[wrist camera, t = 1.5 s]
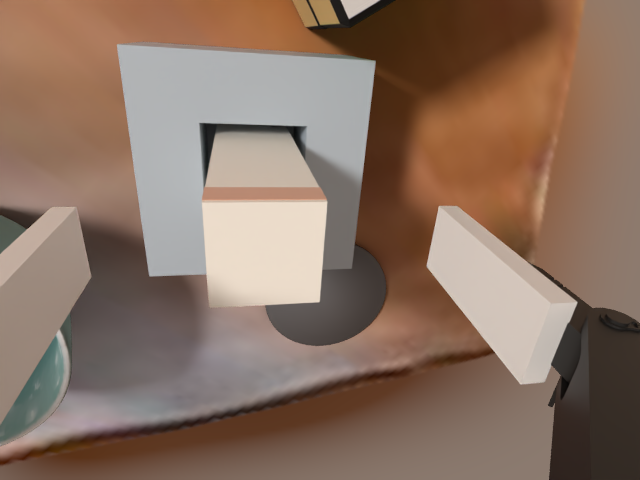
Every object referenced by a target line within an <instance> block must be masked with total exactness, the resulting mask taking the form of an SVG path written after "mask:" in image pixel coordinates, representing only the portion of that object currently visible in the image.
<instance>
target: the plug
mask: <svg viewBox="0 0 640 480" xmlns="http://www.w3.org/2000/svg"><path fill="white" fill-rule="evenodd" d="M202 212H203V227H204V242H205V257H206V272H207V287H208V302H209V308H221V307H240V306H258V305H277V304H296V303H314V302H320V291H321V278H322V265H323V252H324V240H325V227H326V214H327V198H326V197H325V195H324V193H323V191H322V189H321V188H320V187H319V186H318V184H317V182H316V180H315V178H314V176H313V175H312V173H311V171H310V169H309V167H308V165H307V164H306V162H305V160H304V158H303V156H302V155H301V153H300V151H299V149H298V147H297V145H296V144H295V142H294V140H293V138H292V136H291V134H290V133H289V131H288V129H287V127H286V126H283V125H250V124H218V123H217V127H216V132H215V137H214V143H213V148H212V153H211V158H210V163H209V169H208V174H207V179H206V184H205V187H204V190H203V196H202Z"/></svg>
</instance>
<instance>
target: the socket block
mask: <svg viewBox="0 0 640 480" xmlns="http://www.w3.org/2000/svg"><path fill="white" fill-rule="evenodd" d="M117 49H118V56H119V63H120V70H121V77H122V85H123V92H124V99H125V106H126V113H127V121H128V128H129V135H130V142H131V149H132V156H133V164H134V171H135V178H136V185H137V192H138V200H139V207H140V214H141V221H142V228H143V235H144V243H145V250H146V257H147V264H148V271H149V276H174V275H200V274H207V272H206V257H205V242H204V227H203V212H202V196H203V190H204V187H205V184H206V179H207V174H208V169H209V163H210V158H211V153H212V148H213V143H214V137H215V132H216V127H217V123H218V124H250V125H283V126H286V127H287V129H288V131H289V133H290V134H291V136H292V138H293V140H294V142H295V144H296V145H297V147H298V149H299V151H300V153H301V155H302V156H303V158H304V160H305V162H306V164H307V165H308V167H309V169H310V171H311V173H312V175H313V176H314V178H315V180H316V182H317V184H318V186H319V187H320V188H321V189H322V191H323V193H324V195H325V197H326V198H327V214H326V227H325V240H324V252H323V265H322V270H331V269H352V263H353V254H354V245H355V237H356V228H357V219H358V211H359V202H360V193H361V185H362V176H363V167H364V159H365V150H366V141H367V133H368V124H369V115H370V107H371V98H372V89H373V81H374V72H375V63H376V61H374V60H369V59H364V58H359V57H354V56H349V55H337V54H322V53H307V52H292V51H277V50H261V49H246V48H231V47H216V46H201V45H186V44H170V43H155V42H136V43H126V44H117Z"/></svg>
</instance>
